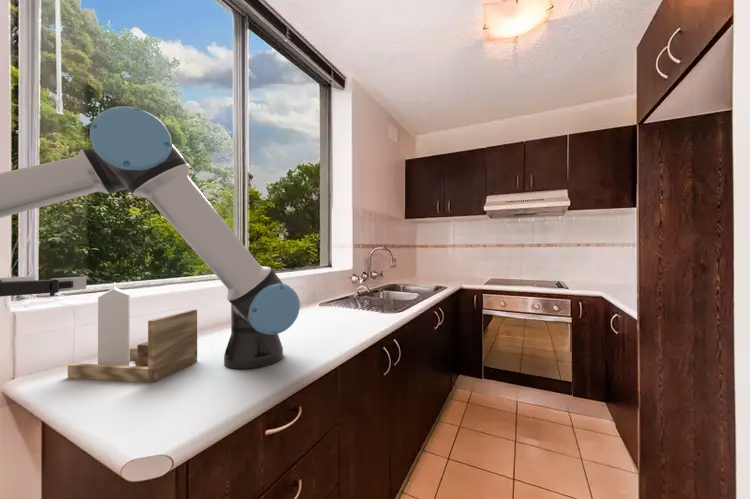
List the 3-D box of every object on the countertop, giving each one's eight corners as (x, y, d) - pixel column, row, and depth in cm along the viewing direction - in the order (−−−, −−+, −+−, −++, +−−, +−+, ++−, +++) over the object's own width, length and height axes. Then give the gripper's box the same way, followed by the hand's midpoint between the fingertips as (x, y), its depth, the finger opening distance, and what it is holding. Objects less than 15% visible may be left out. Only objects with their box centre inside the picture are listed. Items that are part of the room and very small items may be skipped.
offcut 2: (175, 357, 81) (175, 347, 81) (155, 367, 74) (155, 356, 74) (156, 357, 81) (156, 347, 81) (135, 367, 74) (135, 356, 74)
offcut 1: (174, 348, 80) (174, 339, 80) (152, 356, 74) (152, 346, 74) (160, 347, 81) (160, 338, 81) (137, 354, 76) (137, 344, 76)
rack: (197, 361, 84) (197, 309, 84) (153, 382, 70) (153, 320, 70) (123, 357, 87) (123, 308, 87) (67, 377, 73) (67, 318, 73)
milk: (97, 374, 75) (97, 284, 76) (100, 367, 80) (99, 282, 80) (129, 368, 79) (128, 282, 79) (130, 361, 84) (129, 281, 84)
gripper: (-158, 315, 50) (12, 297, 71) (-33, 320, 47) (106, 300, 68) (-156, 269, 50) (13, 265, 71) (-32, 270, 47) (107, 266, 68)
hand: (59, 282), depth 69 cm, fingers open, 13 cm apart
